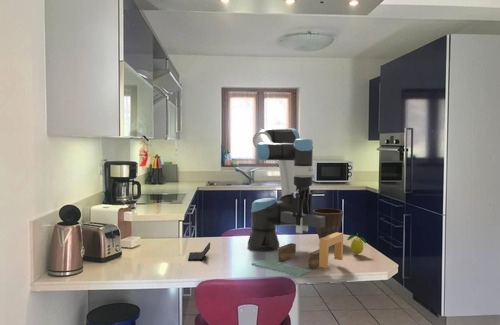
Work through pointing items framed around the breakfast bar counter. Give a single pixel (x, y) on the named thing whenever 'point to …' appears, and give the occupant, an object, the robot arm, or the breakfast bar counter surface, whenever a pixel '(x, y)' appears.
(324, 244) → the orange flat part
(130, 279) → the breakfast bar counter surface
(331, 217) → the plant pot
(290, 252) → the cradle
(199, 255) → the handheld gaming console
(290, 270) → the mat
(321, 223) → the grey rectangular bar
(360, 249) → the lemon
